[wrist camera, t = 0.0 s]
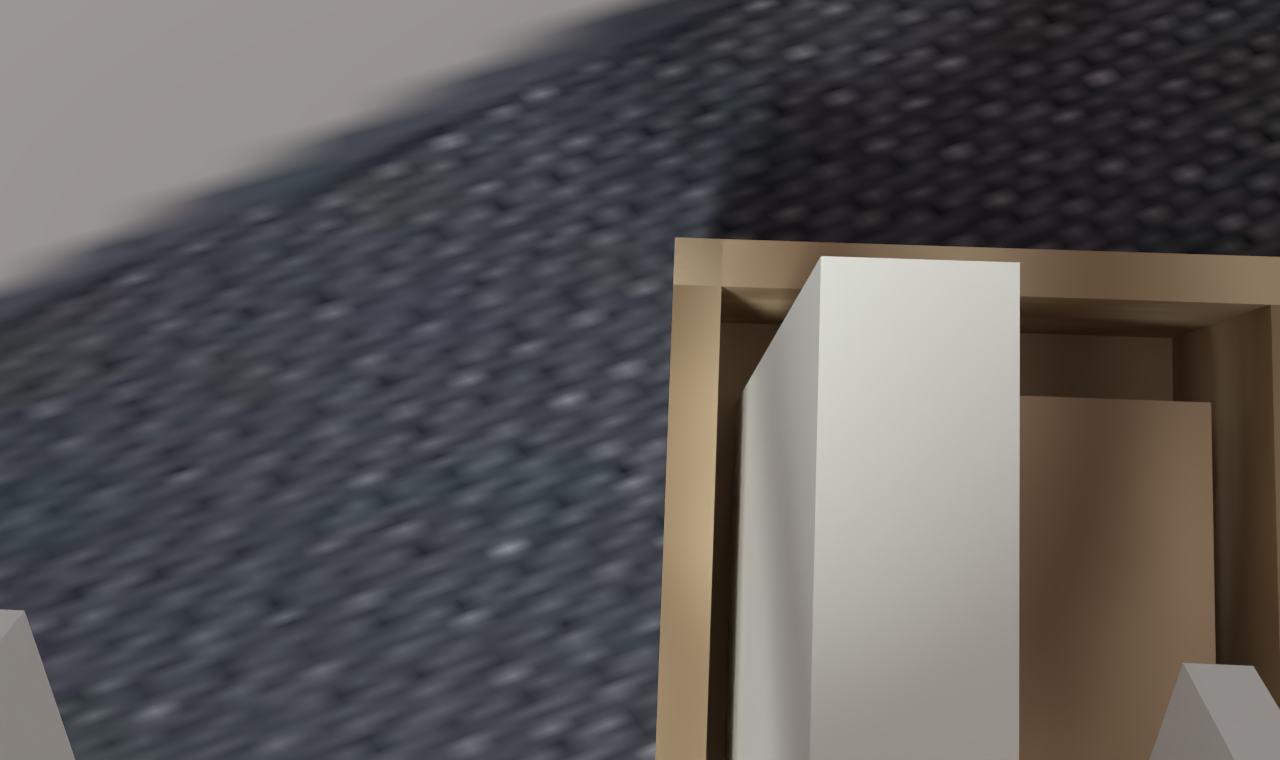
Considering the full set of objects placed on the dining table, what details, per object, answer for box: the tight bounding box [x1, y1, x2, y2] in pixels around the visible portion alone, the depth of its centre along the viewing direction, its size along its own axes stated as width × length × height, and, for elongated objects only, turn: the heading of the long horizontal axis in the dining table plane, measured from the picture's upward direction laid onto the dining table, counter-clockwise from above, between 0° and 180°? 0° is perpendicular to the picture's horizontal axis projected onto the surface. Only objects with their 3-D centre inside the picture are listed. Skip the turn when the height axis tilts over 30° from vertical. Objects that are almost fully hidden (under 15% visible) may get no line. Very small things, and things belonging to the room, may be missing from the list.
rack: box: [655, 238, 1280, 760], centre depth 25 cm, size 18×20×6 cm
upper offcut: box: [1019, 396, 1216, 760], centre depth 23 cm, size 5×14×2 cm, turn 178°
